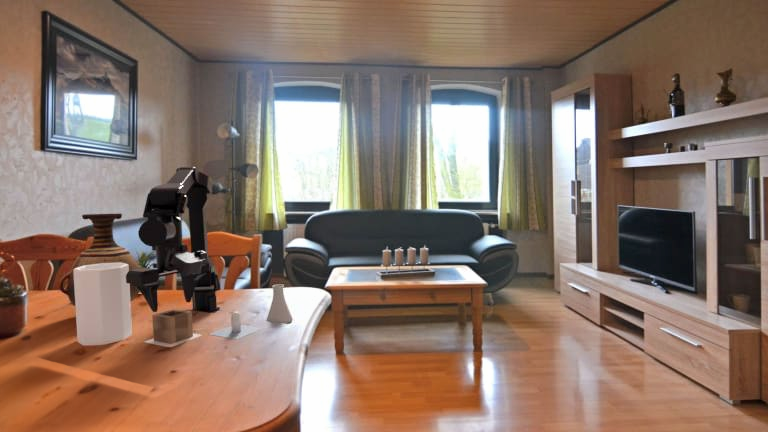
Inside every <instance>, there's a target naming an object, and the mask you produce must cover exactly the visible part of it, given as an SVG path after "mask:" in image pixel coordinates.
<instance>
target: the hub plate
mask: <svg viewBox="0 0 768 432" xmlns="http://www.w3.org/2000/svg"><path fill="white" fill-rule="evenodd" d="M241 322H242V320H241V313H240V312H239V311H233V312H232V313H231V315H230V324H231V325H230V326H227V327H224V328H222V329H219V330H216V331H214V332H211V333H208V335H209V336H214V337H215V336H216V337H221V338H228V339H231V340H232V339H233V340H239V339H241V338H243V337H246V336H248V335H250V334H253V333H255V332H258V331H260V330H262V329H264V328H263V327H257V326H251V325H250V326H249V325H244V324H241Z"/></svg>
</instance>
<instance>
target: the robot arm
mask: <svg viewBox="0 0 768 432" xmlns="http://www.w3.org/2000/svg"><path fill="white" fill-rule="evenodd" d="M212 193H213V183H212V181H211V179H210V177H209V176H208V175H207V174H205V173H203V172H201V171H200V170H199V169H198V167H195V166H180V167H177V168H176V169H175V173H174V174H173V175H172V177H171V178H170V179H169V180H168V181H167V182H166V183H165V184H160V185H159V184H158V185H156V186H153V187H152V188H151V189H150V191H149V192H148V193H147V196H146V199H145V205H144V209H143V214H142V218H146V219H147V220H146V221H144V222H143V223H141V225H140V227H139V228H138V238H139V240H140V241H141V242H142V243H143V244H144V245H145V246H147V247H151V251H152V252H153V251H155V258H156V261H155V262H156V263H154V262H153V263H154V264H153V265H152V268H151V267H150V268H148V267H147V268H139V269H134V270H129V271H128V273H127V274H126V283H130V284H132V286H136V287H137V288H138V289H139V291H140V292H141V293H142V294H141V295H142V296H143V298H144V300H145V301H146V302H147V304H148V306H149V308H150V310H151V311H152V312H153V313H156V312H158V304H159V303H158V288H159V287H160V285H161V282H158V281H159V279H160V277H165V276H170V275H171V276H172V275H175V274H179V273H180V277H181V278H180V279H181V284H182V289H183V295H184V299H185V302H186V303H191V302H192V309H190V311H196V312H202V313H212V312H214V311H215V312H216V311H218V310H220V309H221V307H220V306H217V295H216V292H217V291H221V290H222V289H221V282H220V277H219V274H218V272H217V270H216V268H215V265H216V264H215V263H214V262H213V260H212V259H211V257H209V247H208V243H209V242H208V228H207V213H206V212H207V211H206V210H207V209H206V207H207V205H208V204H209V202H210V200H211V198H212V195H211V194H212ZM186 209H188V219H189V221H188V222H189V223H188V224H189V237H190V239H189V240H190V252H189V248H188V246H187V244H184V242H183V241H184V240H183V224H182V223H183V222H182V219H183V214H185V213H186Z"/></svg>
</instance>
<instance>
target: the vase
mask: <svg viewBox="0 0 768 432" xmlns="http://www.w3.org/2000/svg"><path fill="white" fill-rule="evenodd" d="M122 216H123V214H122V213H117V212H116V213H88V214H87V213H85V214H84V213H83V214H81V217H82V219H83V220H90V221H91V223H92V225H93V226H92V227H93V240H92V243H91V245H90V247H89V248H87V249H85V250H84V251H82V252H81V253H80V254H79V255H78V256H77V258H76V259H75V261H74V263H73V265H72V266H71V270H70V271H69V272H67V273H65V274H64V275H63V276H62V277H61V278H60V281H59V286H58V288H59V290H60V291H61V292H62V293H63V294H64V295H66V296H67V297H68V300H69V302H70V303H71V304H72V306H73V307H76V306H75V289H74V273H73V269H75V268H77V267H81V266H84V265H92V264H100V263H125V264H128V265H129V270H134V269H139V268H142V267H141V266H139V265H138V264H137V263H138V261H136V258H135V257H134V256H133V255H132V254H131V252H130V251H129V250H128V249H126V248H125V247H123V246H121V245H118V244H117V243H116V241H115V239H114V232H113V230H114V229H113V227H114V222H115V220H120V219H122ZM134 258H135V259H134ZM65 280H68V281H67V288H66V289H64V287H63V286H64V282H65ZM138 293H139V289H138V288H137V287H136V286H132V284H130V302H132V301H134V300H135V299H137V297H138Z"/></svg>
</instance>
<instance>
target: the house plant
mask: <svg viewBox="0 0 768 432" xmlns="http://www.w3.org/2000/svg"><path fill="white" fill-rule="evenodd" d="M134 252H135V253H136V255H137V260H138V261H137V264H138V265H139V266H141V267H142V268H150V269H151V267H153V264H154V263H157V261H154V262H152V263H151V261H152V260H153V258H154V257H156V251H153V250H152V251H151V252H150V253H147V251H145V252H144V250H142V251H141V252H140V254H139V252H138V251H137V249H134ZM152 255H153V256H152ZM134 259H135V260H136V258H135V257H134ZM139 292H140V291H139Z"/></svg>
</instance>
